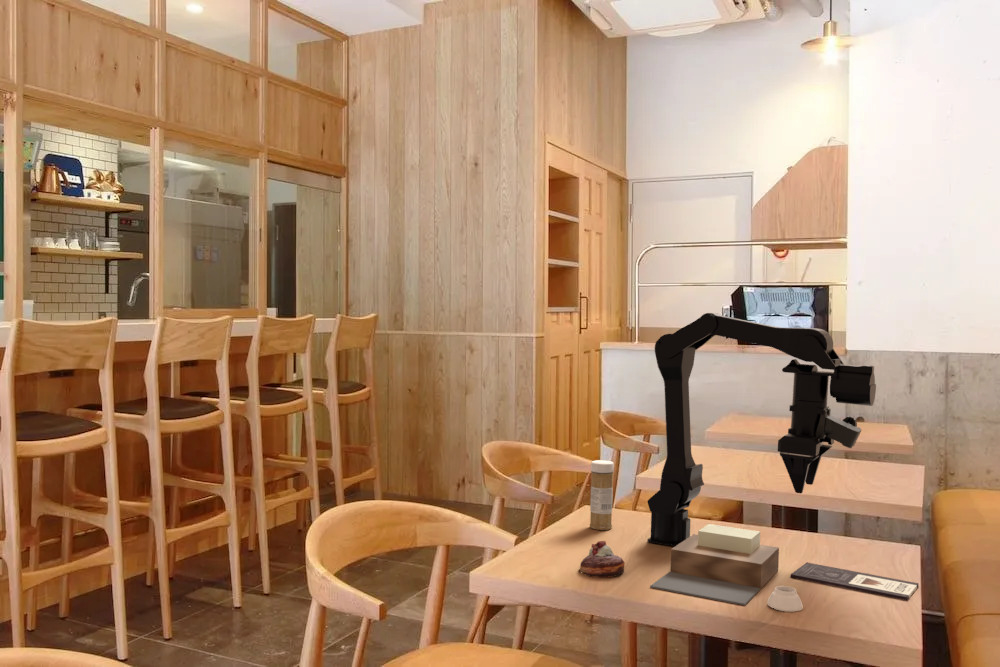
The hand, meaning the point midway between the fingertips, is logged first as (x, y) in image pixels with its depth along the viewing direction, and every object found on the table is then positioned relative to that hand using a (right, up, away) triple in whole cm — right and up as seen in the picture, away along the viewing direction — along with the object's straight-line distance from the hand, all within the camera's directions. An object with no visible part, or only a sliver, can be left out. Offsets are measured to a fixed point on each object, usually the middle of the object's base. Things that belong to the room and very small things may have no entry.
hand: (804, 488), depth 154 cm
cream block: (-14, -9, -4) cm, 17 cm away
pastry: (-36, -13, -7) cm, 39 cm away
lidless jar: (-11, -14, -22) cm, 29 cm away
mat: (-21, -13, -15) cm, 29 cm away
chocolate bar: (+5, -15, -9) cm, 18 cm away
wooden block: (-15, -13, -5) cm, 21 cm away
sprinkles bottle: (-33, -12, +23) cm, 42 cm away
